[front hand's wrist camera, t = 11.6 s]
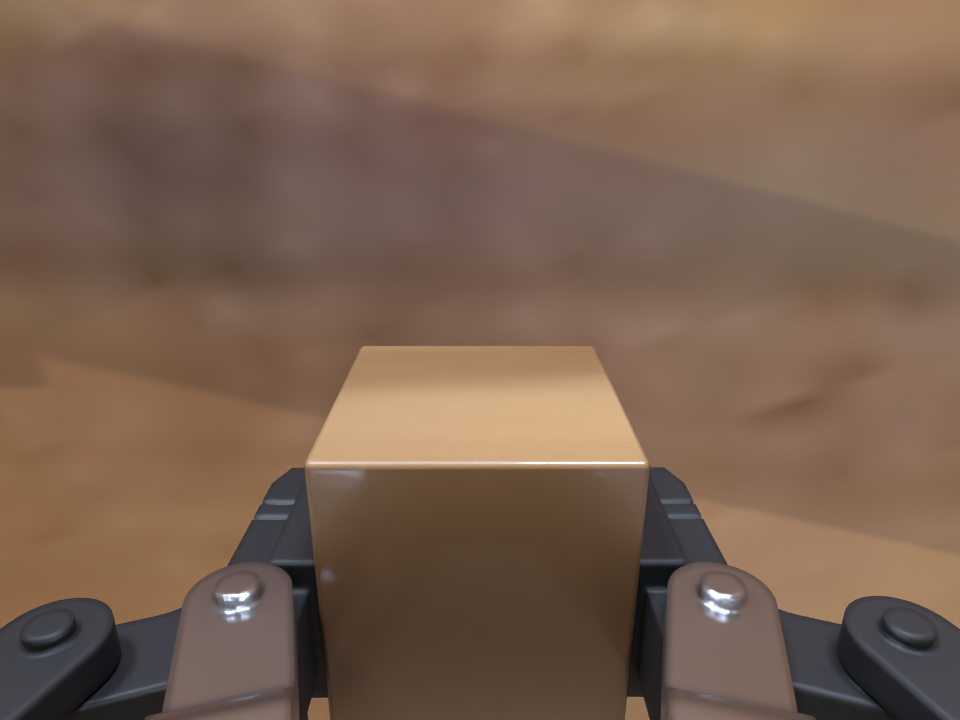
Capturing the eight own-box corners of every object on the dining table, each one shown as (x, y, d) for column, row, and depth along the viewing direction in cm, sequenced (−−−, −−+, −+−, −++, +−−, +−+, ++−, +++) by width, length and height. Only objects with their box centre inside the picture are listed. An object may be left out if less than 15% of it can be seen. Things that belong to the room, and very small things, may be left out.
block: (360, 344, 12) (302, 463, 8) (595, 344, 12) (651, 462, 8) (375, 581, 14) (334, 773, 10) (580, 581, 14) (621, 773, 10)
